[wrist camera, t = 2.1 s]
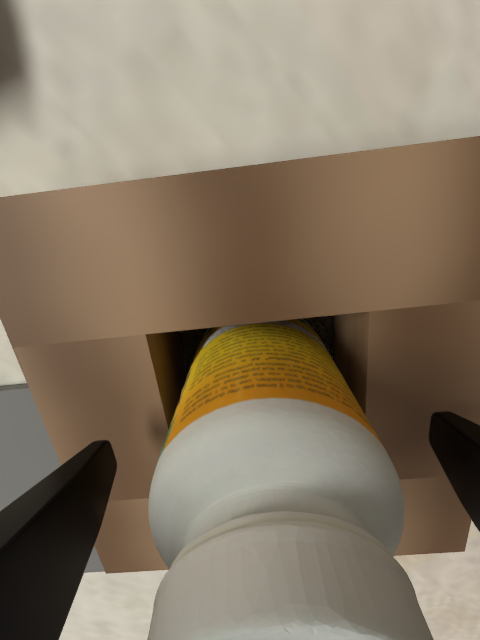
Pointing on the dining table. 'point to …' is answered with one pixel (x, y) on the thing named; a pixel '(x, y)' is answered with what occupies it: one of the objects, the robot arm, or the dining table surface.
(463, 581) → the dining table surface
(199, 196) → the socket block
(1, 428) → the rubber mat
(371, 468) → the supplement bottle
